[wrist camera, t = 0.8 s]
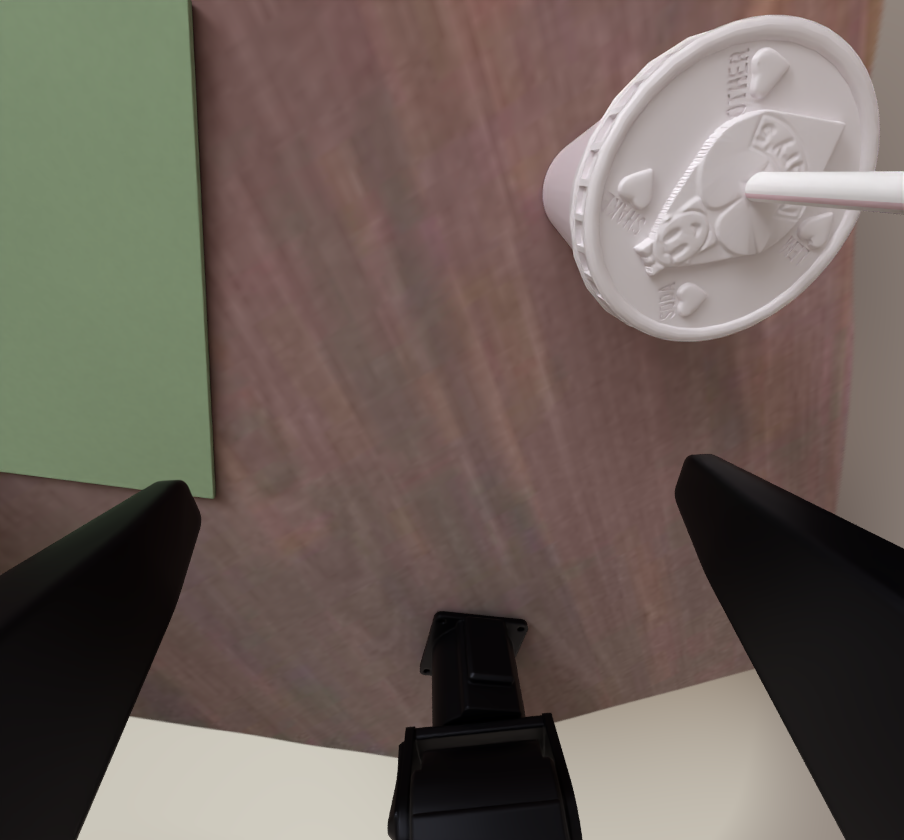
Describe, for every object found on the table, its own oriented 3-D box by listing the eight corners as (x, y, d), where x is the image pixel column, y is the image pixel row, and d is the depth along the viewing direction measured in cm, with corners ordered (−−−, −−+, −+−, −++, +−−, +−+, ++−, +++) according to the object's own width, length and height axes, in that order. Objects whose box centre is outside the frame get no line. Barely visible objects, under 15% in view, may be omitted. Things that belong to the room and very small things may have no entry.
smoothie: (691, 206, 19) (1202, 270, 6) (559, 301, 20) (762, 496, 8) (623, 48, 16) (1275, -366, 4) (477, 172, 18) (594, 170, 5)
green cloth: (215, 495, 25) (213, 499, 24) (-31, 463, 23) (-36, 467, 23) (191, 1, 15) (187, -2, 15) (-241, -119, 13) (-256, -126, 13)
